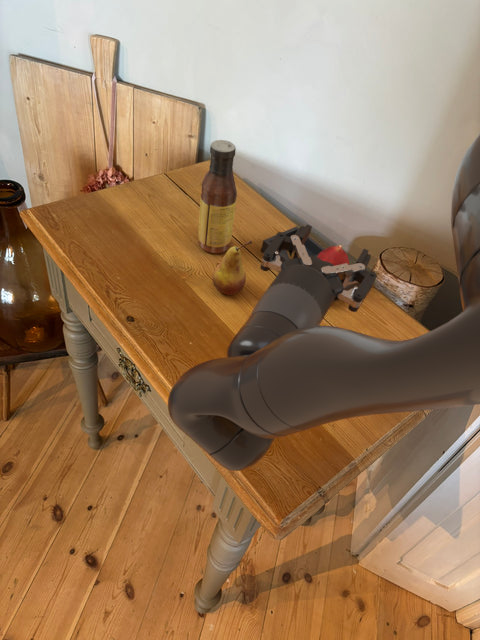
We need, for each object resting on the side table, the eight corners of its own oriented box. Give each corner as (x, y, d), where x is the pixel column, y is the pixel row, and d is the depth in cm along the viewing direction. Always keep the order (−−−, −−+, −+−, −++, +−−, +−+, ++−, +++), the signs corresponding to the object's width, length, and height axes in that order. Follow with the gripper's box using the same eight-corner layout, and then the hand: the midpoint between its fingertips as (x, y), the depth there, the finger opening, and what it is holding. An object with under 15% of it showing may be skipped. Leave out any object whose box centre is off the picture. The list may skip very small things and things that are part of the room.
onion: (304, 277, 84) (316, 242, 78) (322, 264, 87) (335, 230, 81) (330, 295, 82) (344, 260, 76) (347, 281, 85) (362, 247, 79)
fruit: (236, 276, 83) (247, 221, 74) (247, 298, 79) (259, 243, 70) (206, 279, 81) (214, 223, 72) (216, 302, 77) (225, 247, 69)
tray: (293, 236, 93) (296, 226, 91) (357, 288, 85) (362, 278, 84) (260, 250, 88) (263, 240, 87) (325, 307, 81) (329, 296, 79)
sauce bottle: (236, 244, 89) (253, 147, 74) (217, 260, 85) (232, 161, 70) (208, 229, 90) (220, 132, 76) (189, 244, 86) (197, 144, 72)
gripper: (357, 315, 50) (394, 240, 60) (241, 262, 53) (296, 200, 63) (336, 357, 55) (374, 282, 66) (233, 307, 59) (284, 243, 69)
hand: (335, 242), depth 65 cm, fingers open, 8 cm apart
